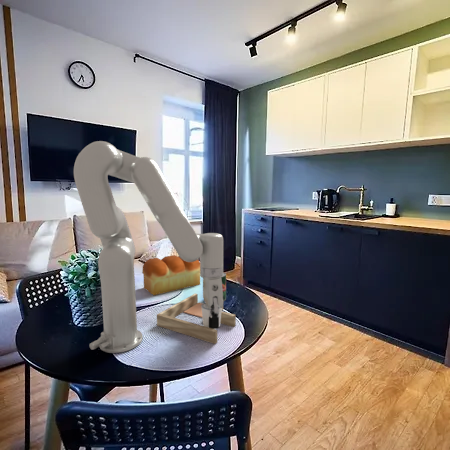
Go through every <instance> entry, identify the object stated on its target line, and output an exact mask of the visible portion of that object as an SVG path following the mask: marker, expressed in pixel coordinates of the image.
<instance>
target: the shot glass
mask: <svg viewBox="0 0 450 450" xmlns="http://www.w3.org/2000/svg"><path fill="white" fill-rule="evenodd" d="M201 307H202V317H203V318H202V324H203V325H202V326H205V327H208V328H209V317H210V309H209V308H208V307H207V305H206V303H205V302H204V303H203V304H202V305H201ZM211 307H214V306H211ZM218 309H219V328H220V327H221V323H220V322H221V312H222V311H223V310H222V308H220V307H219V305H218ZM213 311H214V309H213V310H212V312H213ZM215 330H218V328H215Z"/></svg>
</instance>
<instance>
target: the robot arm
mask: <svg viewBox="0 0 450 450" xmlns="http://www.w3.org/2000/svg"><path fill="white" fill-rule="evenodd" d="M108 176H111V177H115V178H118V179H121V180H123V181H127V182H129V183H133V184H135V186H136V187H137V189H138V191H139V192H140V194H141V196H142V198H143V200H144V201H145V202H146V205H147V207H148V208H149V210H150V211H151V213H152V215H153V216H154V218H155V219H156V221H157V223H158V224H159V225H160V227H161V228H162V229H163V231H164V233H165V235H166V236H167V238H168V240H169V242H170V243H171V245H172V247H173V248H174V250H175V251H176V253H177V256H179V257H180V258H181V259H182V260H184V261H186V262H194V261H196V260H199V262H200V278H202V298H203V301H204V303H206V305H207V307H208V308H209V309H210V317H209V328H212V329H215V328H217V329H219V328H220V327H219V309H218V305H219V307H220V308H222V307H223V308H224V301H223V290H222V280H221V277H223V272H224V237H223V235H222V234H220V233H217V232H207V233H196V231H195V229H194V227H193V226H192V224H191V222H190V221H189V219H188V217H187V216H186V213H185V212H184V210H183V208H182V206H181V204H180V202H179V200H178V198H177V196H176V195H175V193H174V191H173V189H172V188H171V185H170V184H169V182H168V181H167V179H166V176H165V175H164V173H163V172H162V170H161V168H160V167H159V164H158V163H157V162H156V161H155V160H154V159H153V158H151V157H147V156H143V157H140V156H137V155H134V154H131V153H128V152H125V151H122V150H120V149H117V148H116V146H114V145H113V144H111V143H110V142H108V141H103V140H99V141H98V140H97V141H93V142H91V143H89V144H88V145H86V146H85V147H84V148H83V149H82V150H81V151H80V152H79V153H78V155H77V156H76V158H75V162H74V166H73V178H74V183H75V186H76V189H77V192H78V196H79V198H80V202H81V206H82V208H83V211H84V214H85V217H86V219H87V224H88V228H89V230H90V232H91V233H92V234H93V235H94V236H95V237H97V238H99V239H100V240H99V241H100V242H101V245H102V249H101V250H100V252H99V255H98V259H97V260H98V261H97V262H98V263H97V264H98V265H97V266H98V272H99V278H100V279H99V280H100V291H101V302H102V304H101V305H102V318H103V320H102V321H103V331H102V332H101V333H100V337H98V339H97V340H94V341H92V342H91V343H89V348H90V350H96V349H97V348H100V350H101V351H103V352H105V353H109V354H118V353H123V352H127V351H130V350H132V349H135V348H136V347H138V346H139V345H140V344H141V343H142V341H143V333H142V331H140V330H138V324H137V323H138V322H137V321H138V320H137V300H136V299H137V298H136V279H135V255H136V247H135V243H134V239H133V236H132V233H131V230H130V228H129V227H130V226H129V224H128V220H127V218H126V215H125V213H124V211H122V209H121V208H120V207H118V206H117V204H116V201H115V198H114V196H113V190H112V188H111V185H110V182H109V179H108ZM211 306H214V307H211ZM213 309H214V311H213V312H212V310H213ZM215 330H216V329H215Z"/></svg>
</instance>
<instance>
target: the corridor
mask: <svg viewBox="0 0 450 450" xmlns="http://www.w3.org/2000/svg"><path fill="white" fill-rule="evenodd" d="M198 295H199V294H198V293H193V294H192V295H190V296H188V297H186V298H184V299H183V300H181V301H178V302H177V303H176V304H174V305H172V306H170V307H167V308H166V309H164V310H162V311H161V312H159V313H157V314H156V325H157V326H156V327H160V328H164V329H166V330H170V331H173V332H175V333H179V334H183V335H185V336H188V337H192V338H195V339H198V340H202V341H204V342H207V343H210V344H213V345H216V344H217V343H218V329H212V328H208V327H205V326H203V325H201V324H198V323H194V322H191V321H187V320H183V319H180V318H176V317H177V316H179V315H181V314H184V311H186V310H187V309H189V308H191V307H192V306H194V305H196V304H197V303H199V302H198V301H199V300H198V299H199V296H198ZM223 310H224V306H223V307H222V312H221V322H220V325H225V326H228V327H232V328H235V327H236V324H237V323H236V322H237V321H236V320H237V319H236V316H237V315H236V314H234V313H230V312H227V311H223Z"/></svg>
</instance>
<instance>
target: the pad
mask: <svg viewBox="0 0 450 450" xmlns="http://www.w3.org/2000/svg"><path fill="white" fill-rule="evenodd" d="M202 304H203V303H202V302H198V303H197V304H196V305H194V306H192V307H191V308H189V309H187V310H186V311H184V312H183V314H187V315H189V316H190V315H191V316H194V317H198V318H202V319H203V317H202V307H201V305H202Z"/></svg>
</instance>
